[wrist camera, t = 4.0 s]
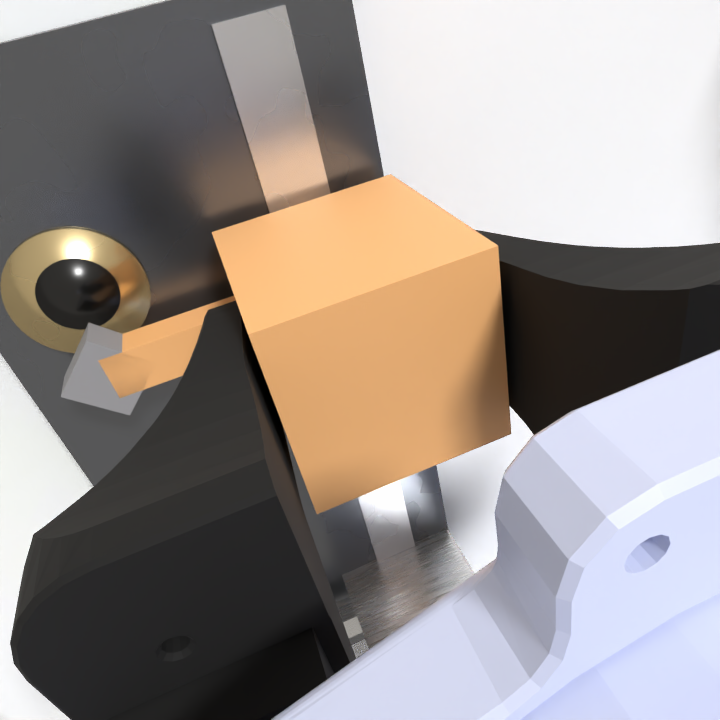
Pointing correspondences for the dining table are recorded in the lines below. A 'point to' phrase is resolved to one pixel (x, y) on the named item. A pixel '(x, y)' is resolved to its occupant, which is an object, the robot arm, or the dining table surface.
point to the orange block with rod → (344, 336)
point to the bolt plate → (191, 228)
